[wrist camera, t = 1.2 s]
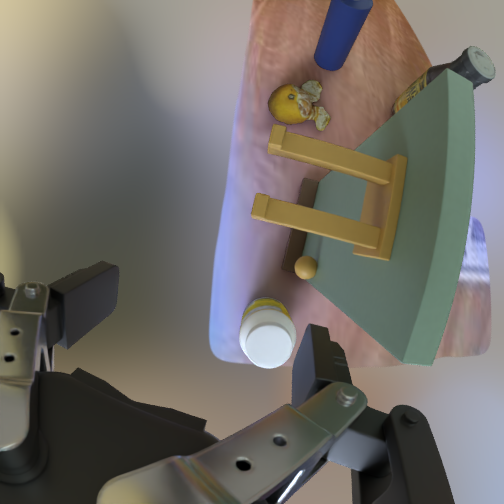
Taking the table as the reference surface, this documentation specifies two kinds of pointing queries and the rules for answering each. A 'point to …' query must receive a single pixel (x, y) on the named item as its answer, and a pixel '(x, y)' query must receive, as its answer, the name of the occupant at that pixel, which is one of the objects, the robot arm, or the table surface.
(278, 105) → the fruit
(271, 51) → the table surface
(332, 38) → the t-handle plunger
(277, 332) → the pill bottle
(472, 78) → the sauce bottle
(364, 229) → the green panel
